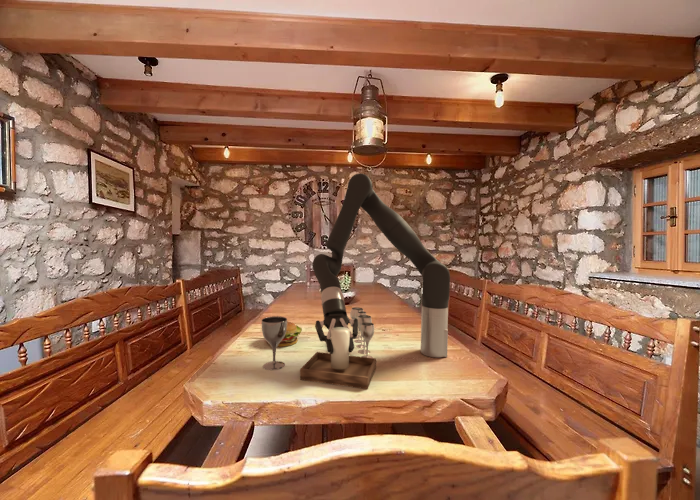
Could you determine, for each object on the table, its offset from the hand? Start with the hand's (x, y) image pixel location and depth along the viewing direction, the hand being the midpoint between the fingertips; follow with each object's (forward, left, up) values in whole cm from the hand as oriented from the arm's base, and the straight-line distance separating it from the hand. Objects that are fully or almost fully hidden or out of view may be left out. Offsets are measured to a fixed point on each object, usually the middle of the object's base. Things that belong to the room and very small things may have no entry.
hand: (341, 351), depth 92 cm
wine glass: (+23, -1, -8) cm, 24 cm away
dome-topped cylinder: (+1, -2, -5) cm, 5 cm away
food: (+30, -22, -8) cm, 38 cm away
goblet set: (0, -27, -8) cm, 28 cm away
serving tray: (+1, -1, -7) cm, 8 cm away
